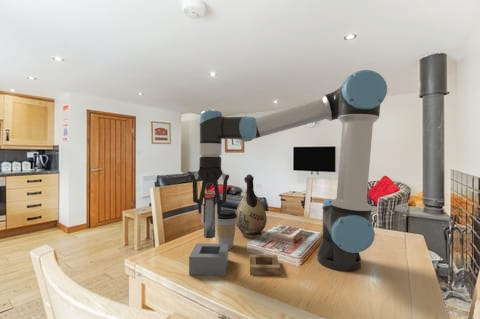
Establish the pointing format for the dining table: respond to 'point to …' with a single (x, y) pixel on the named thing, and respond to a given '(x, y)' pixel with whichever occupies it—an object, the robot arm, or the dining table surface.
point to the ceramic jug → (250, 212)
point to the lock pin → (209, 215)
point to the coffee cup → (226, 227)
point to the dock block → (209, 259)
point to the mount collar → (264, 269)
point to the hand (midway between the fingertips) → (209, 222)
